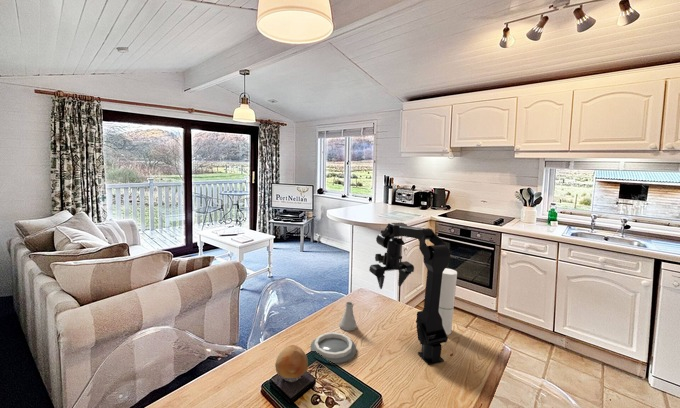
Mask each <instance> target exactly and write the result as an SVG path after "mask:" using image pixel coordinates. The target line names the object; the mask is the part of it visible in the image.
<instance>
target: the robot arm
mask: <svg viewBox="0 0 680 408" xmlns="http://www.w3.org/2000/svg"><path fill="white" fill-rule="evenodd" d="M399 237H404V238H405V237H406V238H411V239H417V240H418V241H419V243H418V244H419V246H418V248H419V251H420V252H421V254H422V256H423V257H422V258H423V261H422V262H423V263H424V266H425V268H426V278H425V279H426V280H425V289H424V290H425V292H424V300H423V302H424V303H423V309H422V310H419V311H417V312H416V320H415V323H416V333H417V340H418V341H419V344H420V345H421V350H420V351H418V352H417V355H418V356H419V357H420V358H421V359H422V360H423V361H424V362H425V363H426V364H427V365H429V366H430V365H434V364H440V363H443V362H445V359H444V358H443V357H441V355H442V345H443V343H444V344H445V343H447V342H448V339H449V338H448V335H446V333H445V330H444V328H443V325H442V318H441V316H440V314H439V302H440V292H441V283H442V273H443V271H444V270H445V268H447V266H448V265H449V263H450V259H451V250H450V249H449V247H448V246H447V244H446V243H445V241H444V240H443V239H442V238H441V237H439V236H438V235H437V234H436V233H435V232H434V230H433V229H431V228H426V227H425V228H424V227H415V226H408V225H407V224H406V223H404V222H389V223H387V225H386V227H385V228H384V229H382V230H381V231H380V233H378V235H376V243H377V244H378V245H380V246H381V247H383V248H384V249H386V252H384V254H383V255H382V254H381V253H376V254H375V257H374V258H375V259H374V260H375V262H378V263H376V264H371V265H370V266H369V272H370V273H372V275H374V276H375V278H376V279H377V282H378V283H377V284H378V287H379V289H380V290H382V289H383V286H384V282H385V278H386V276H385V272H391V271H398V272H399V274H398V282H397V283H398V284H397V285H398V287H401V286H402V285H403V284H404V283H405V280H406V279H407V278H408V277H409V275H411V274H412V273H414V272H415V265H414V264H412V263H410V262H409V261H401V260H402V259H403V256H402V255H401V253H402V246H403V245H405V241H404V240H403V238H399ZM426 240H427V241H429V242H431V245H427V243H426ZM381 263H382V265H384V266H381Z"/></svg>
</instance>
